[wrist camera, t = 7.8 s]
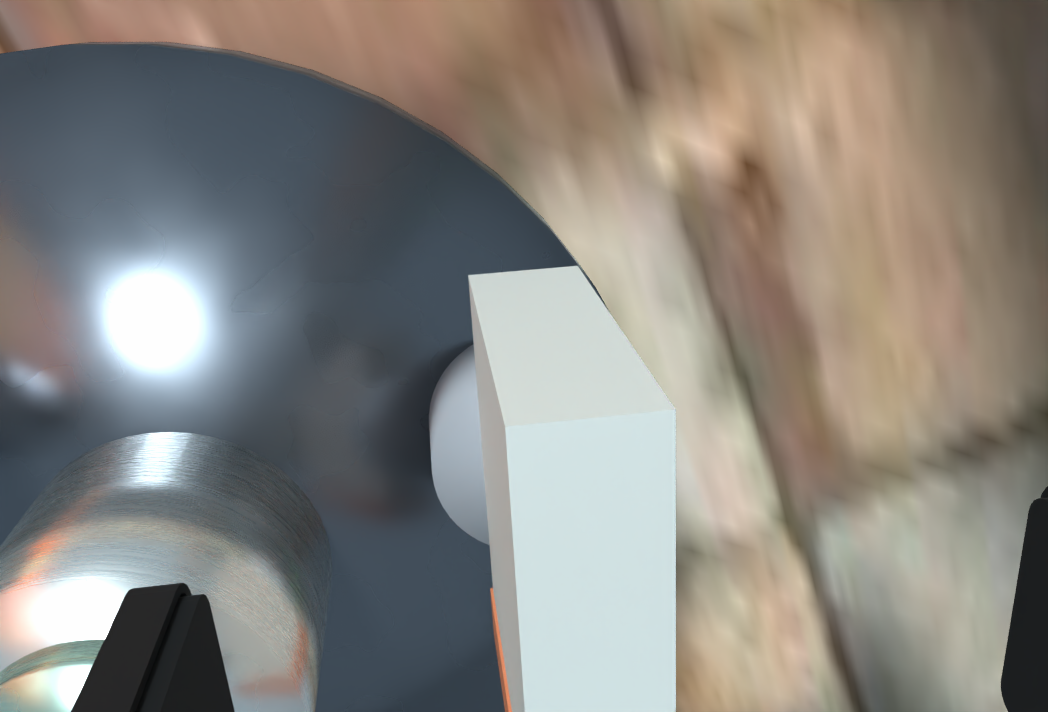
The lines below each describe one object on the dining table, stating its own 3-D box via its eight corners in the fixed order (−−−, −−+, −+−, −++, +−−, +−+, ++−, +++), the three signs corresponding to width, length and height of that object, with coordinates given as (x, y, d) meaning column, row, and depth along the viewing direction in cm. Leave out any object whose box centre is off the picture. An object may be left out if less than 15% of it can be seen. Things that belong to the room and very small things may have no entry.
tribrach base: (640, 3, 18) (792, -3, 11) (657, 817, 25) (757, 1135, 18) (-520, 86, 16) (-1236, 143, 9) (-148, 937, 23) (-390, 1343, 16)
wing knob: (411, 250, 17) (417, 438, 10) (607, 234, 17) (760, 402, 10) (444, 580, 20) (469, 935, 12) (615, 561, 20) (744, 893, 12)
